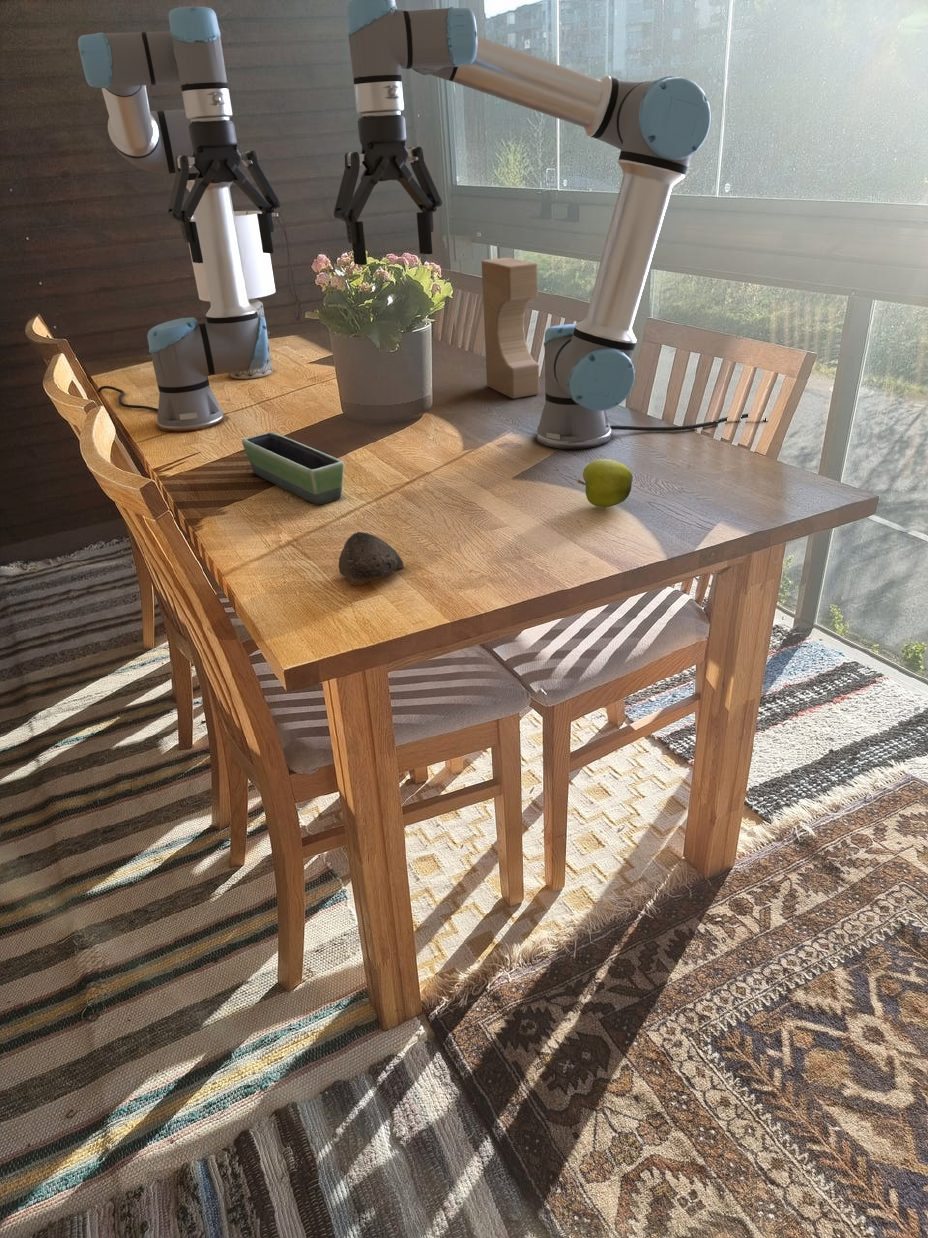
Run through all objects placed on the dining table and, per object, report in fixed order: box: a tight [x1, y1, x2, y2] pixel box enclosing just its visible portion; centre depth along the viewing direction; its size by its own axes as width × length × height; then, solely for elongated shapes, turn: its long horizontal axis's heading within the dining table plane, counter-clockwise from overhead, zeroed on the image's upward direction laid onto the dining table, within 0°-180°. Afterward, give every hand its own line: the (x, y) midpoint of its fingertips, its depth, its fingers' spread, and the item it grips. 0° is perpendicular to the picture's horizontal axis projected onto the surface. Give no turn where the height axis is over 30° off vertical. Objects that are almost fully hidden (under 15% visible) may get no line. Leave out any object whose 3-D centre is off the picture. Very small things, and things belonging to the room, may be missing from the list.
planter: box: [241, 431, 345, 506], centre depth 167 cm, size 28×7×7 cm, turn 39°
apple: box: [577, 458, 634, 508], centre depth 149 cm, size 8×9×8 cm
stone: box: [338, 531, 405, 586], centre depth 130 cm, size 10×8×10 cm
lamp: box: [188, 210, 276, 380], centre depth 242 cm, size 21×21×42 cm
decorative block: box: [481, 256, 540, 399], centre depth 213 cm, size 15×8×30 cm, turn 24°
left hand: (234, 257), depth 156 cm, fingers open, 13 cm apart
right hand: (394, 259), depth 149 cm, fingers open, 13 cm apart
